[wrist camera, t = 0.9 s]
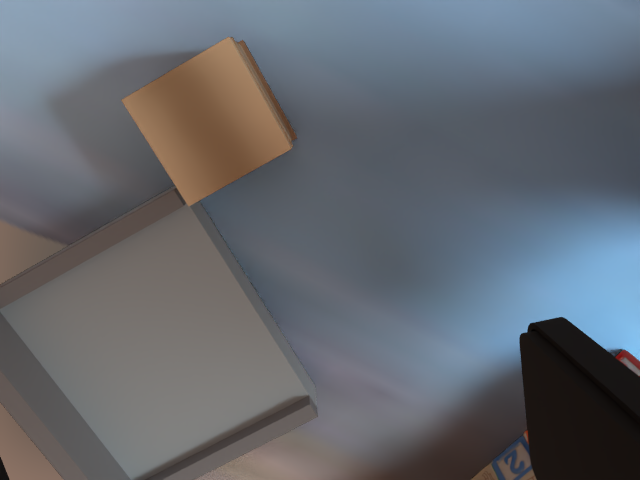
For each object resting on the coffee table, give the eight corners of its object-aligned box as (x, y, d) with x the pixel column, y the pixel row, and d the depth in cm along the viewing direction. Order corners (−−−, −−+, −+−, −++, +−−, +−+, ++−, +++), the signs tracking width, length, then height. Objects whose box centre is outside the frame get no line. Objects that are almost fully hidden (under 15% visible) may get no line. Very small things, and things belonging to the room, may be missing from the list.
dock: (185, 179, 33) (165, 197, 28) (315, 386, 37) (319, 436, 32) (-8, 288, 35) (-63, 326, 29) (138, 477, 39) (113, 540, 33)
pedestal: (244, 41, 31) (230, 29, 24) (296, 136, 33) (297, 150, 26) (153, 94, 32) (114, 98, 25) (209, 185, 34) (187, 212, 27)
